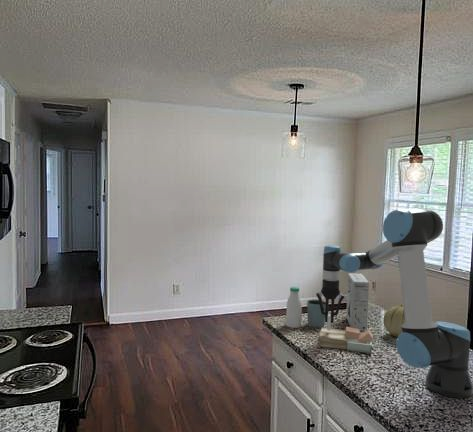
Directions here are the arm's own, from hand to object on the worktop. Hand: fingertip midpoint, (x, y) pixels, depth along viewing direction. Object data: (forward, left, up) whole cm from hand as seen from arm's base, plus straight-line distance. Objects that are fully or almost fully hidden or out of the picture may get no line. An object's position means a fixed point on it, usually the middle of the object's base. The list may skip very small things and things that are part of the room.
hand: (328, 329), depth 193 cm
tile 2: (0, -15, -1) cm, 15 cm away
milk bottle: (+17, +19, -6) cm, 26 cm away
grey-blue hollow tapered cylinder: (+23, +8, -6) cm, 25 cm away
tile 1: (0, -10, -2) cm, 10 cm away
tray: (0, -14, -6) cm, 15 cm away
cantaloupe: (+19, -32, -6) cm, 38 cm away
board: (0, -2, -6) cm, 6 cm away
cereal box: (+31, -12, -6) cm, 33 cm away
